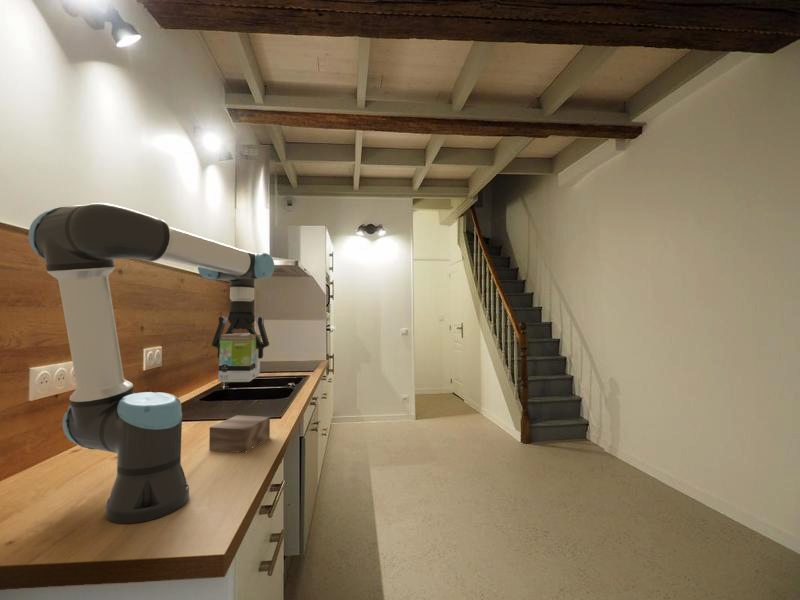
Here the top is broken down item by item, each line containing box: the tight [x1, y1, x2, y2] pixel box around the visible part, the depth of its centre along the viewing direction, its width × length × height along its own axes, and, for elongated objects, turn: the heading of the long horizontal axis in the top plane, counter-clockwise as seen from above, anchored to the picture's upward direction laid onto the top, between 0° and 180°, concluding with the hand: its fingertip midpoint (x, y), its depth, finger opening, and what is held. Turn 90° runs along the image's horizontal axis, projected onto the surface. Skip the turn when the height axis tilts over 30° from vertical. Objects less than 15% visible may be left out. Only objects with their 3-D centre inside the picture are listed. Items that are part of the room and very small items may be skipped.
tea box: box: [217, 332, 262, 383], centre depth 129 cm, size 15×10×15 cm
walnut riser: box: [208, 414, 271, 453], centre depth 125 cm, size 14×12×7 cm
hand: (240, 368), depth 129 cm, fingers closed on tea box, 10 cm apart
